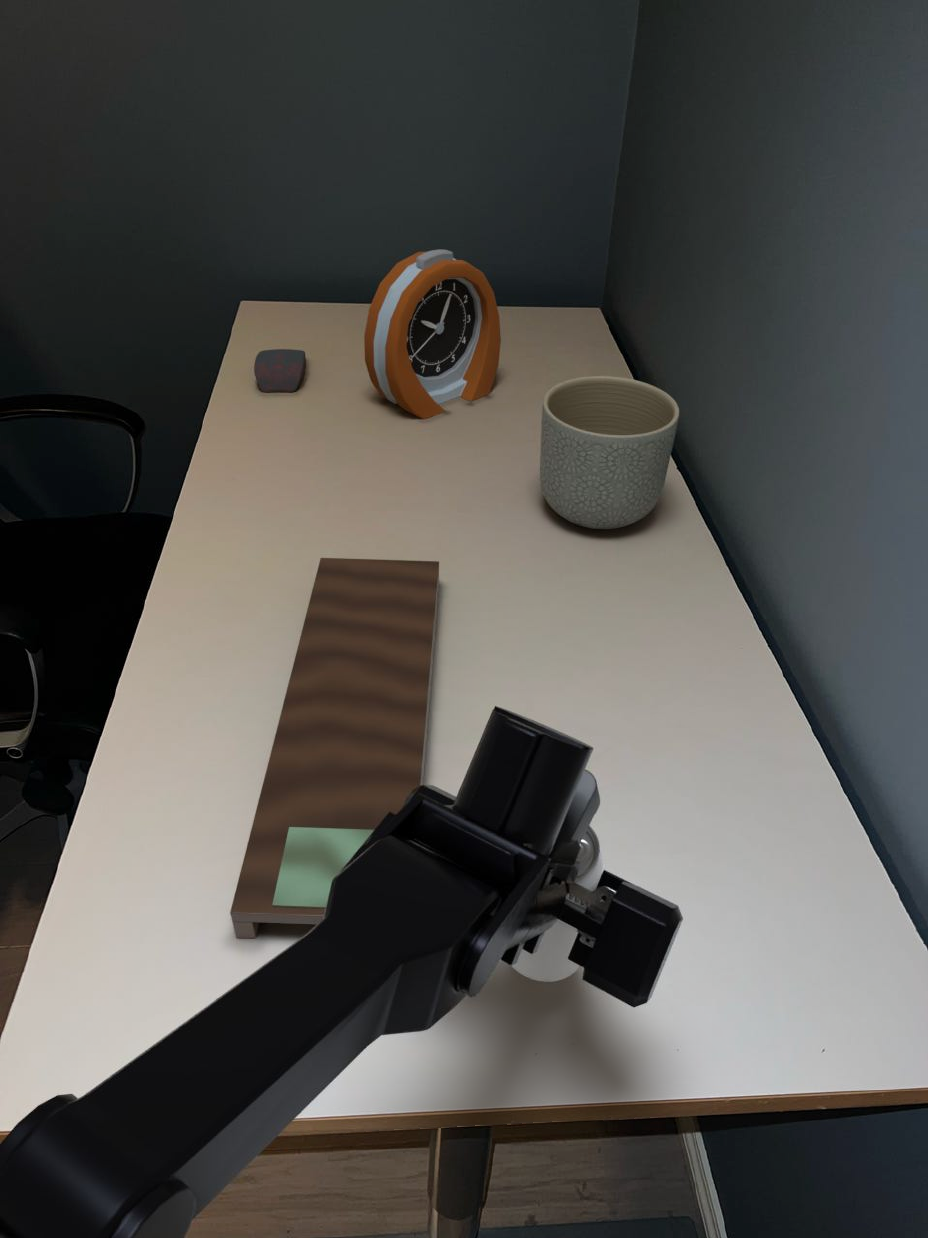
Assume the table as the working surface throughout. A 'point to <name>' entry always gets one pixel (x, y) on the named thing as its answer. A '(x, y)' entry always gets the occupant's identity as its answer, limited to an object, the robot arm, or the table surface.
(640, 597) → the table surface
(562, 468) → the planter
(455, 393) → the alarm clock
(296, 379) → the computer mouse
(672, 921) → the robot arm
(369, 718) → the shelf
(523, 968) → the can
